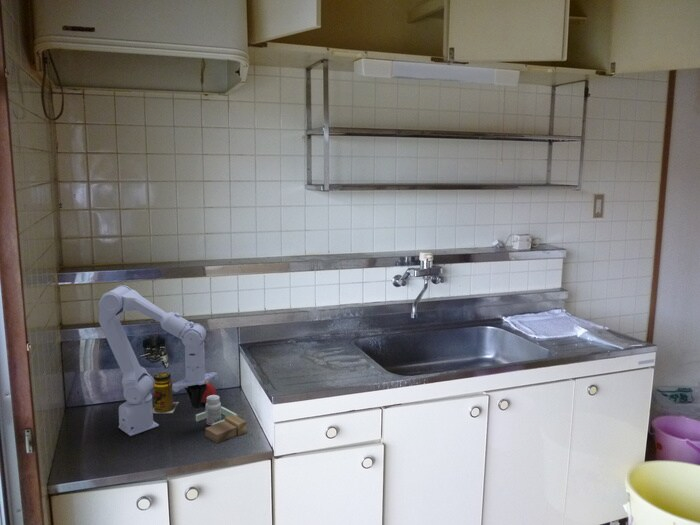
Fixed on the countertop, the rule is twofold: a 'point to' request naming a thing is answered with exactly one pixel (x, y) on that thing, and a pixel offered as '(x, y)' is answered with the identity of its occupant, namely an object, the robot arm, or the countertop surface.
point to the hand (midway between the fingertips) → (195, 407)
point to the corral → (223, 411)
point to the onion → (208, 392)
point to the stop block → (237, 423)
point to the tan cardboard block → (220, 431)
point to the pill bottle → (213, 409)
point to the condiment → (163, 394)
